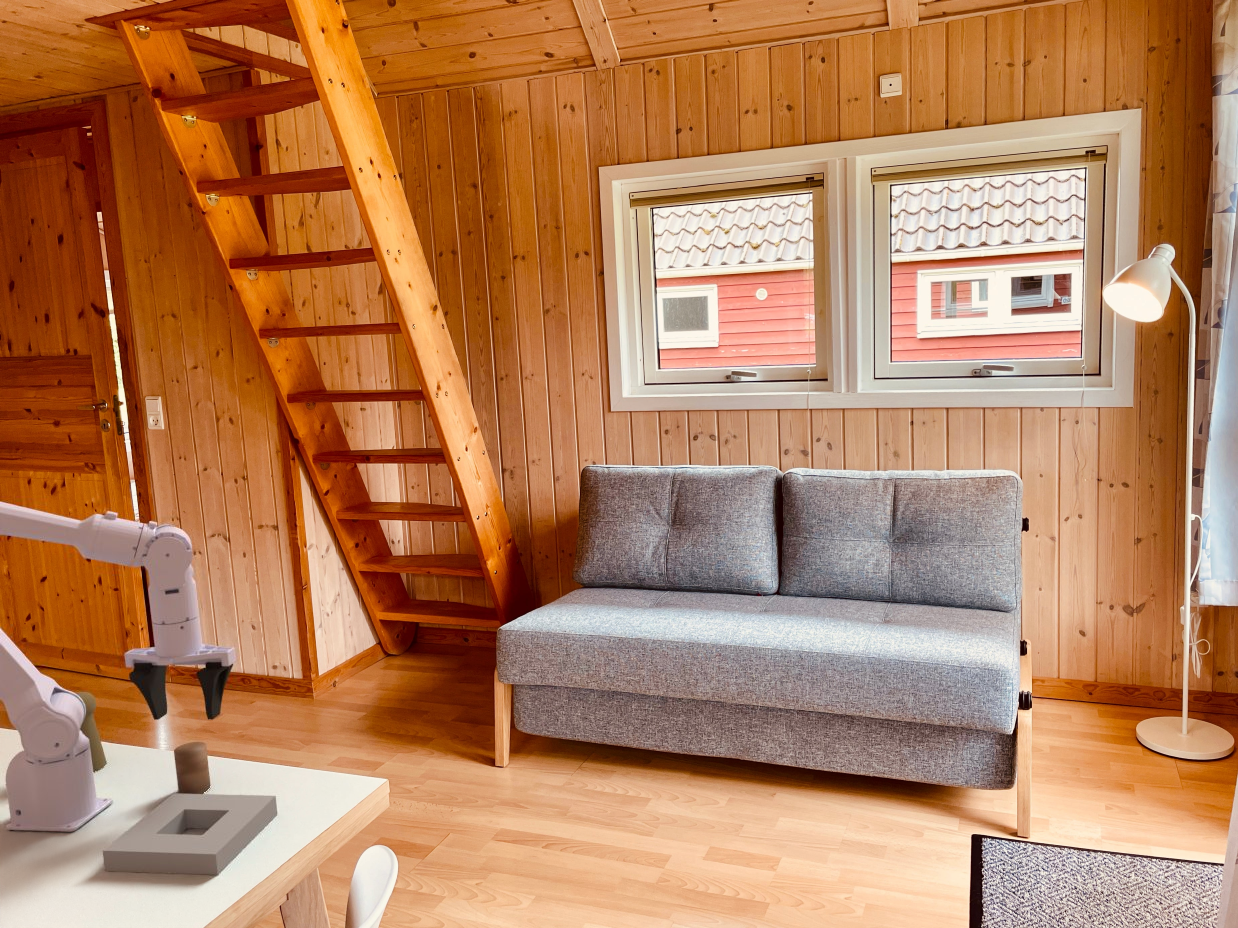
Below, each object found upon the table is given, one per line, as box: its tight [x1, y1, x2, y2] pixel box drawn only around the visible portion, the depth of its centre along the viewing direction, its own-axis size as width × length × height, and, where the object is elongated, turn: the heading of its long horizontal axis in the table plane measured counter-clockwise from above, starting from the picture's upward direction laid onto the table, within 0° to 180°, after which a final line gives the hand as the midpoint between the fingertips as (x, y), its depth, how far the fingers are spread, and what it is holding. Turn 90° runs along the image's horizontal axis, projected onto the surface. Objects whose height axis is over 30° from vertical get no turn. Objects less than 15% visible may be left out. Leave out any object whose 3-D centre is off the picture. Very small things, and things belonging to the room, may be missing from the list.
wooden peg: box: [173, 741, 212, 794], centre depth 133 cm, size 4×4×6 cm
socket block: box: [102, 793, 278, 876], centre depth 119 cm, size 14×14×2 cm
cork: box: [74, 691, 108, 773], centre depth 141 cm, size 6×6×11 cm
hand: (187, 716), depth 132 cm, fingers open, 7 cm apart
